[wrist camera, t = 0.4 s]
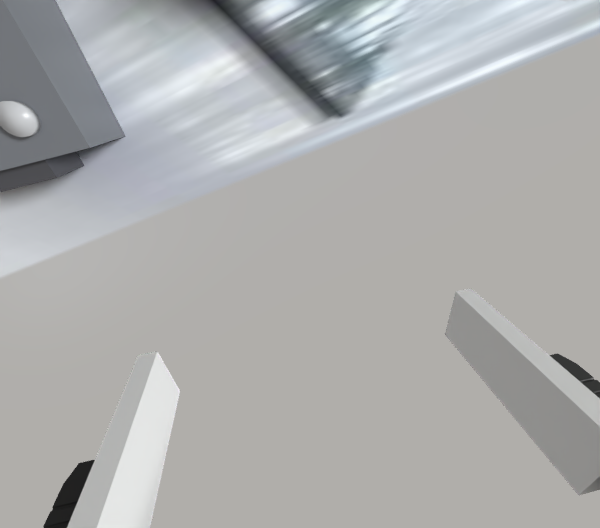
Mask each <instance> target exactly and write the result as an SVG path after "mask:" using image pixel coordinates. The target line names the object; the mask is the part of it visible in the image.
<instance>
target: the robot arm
mask: <svg viewBox="0 0 600 528" xmlns="http://www.w3.org/2000/svg"><path fill="white" fill-rule="evenodd" d="M445 335H446V336H447V338H448V339H449V340H450V341H451V342H452V344H453V345H454V346H455V347H456V348H457V350H458V351H459V352H460V353H461V354H462V356H463V357H464V358H465V359H466V361H467V362H468V363H469V364H470V365H471V366H472V368H473V369H474V370H475V371H476V373H477V374H478V375H479V376H480V377H481V379H482V380H483V381H484V382H485V383H486V385H487V386H488V387H489V388H490V389H491V391H492V392H493V393H494V394H495V395H496V396H497V398H498V399H499V400H500V401H501V402H502V404H503V405H504V406H505V407H506V409H507V410H508V411H509V412H510V413H511V414H512V416H513V417H514V418H515V419H516V421H517V422H518V423H519V424H520V425H521V427H522V428H523V429H524V430H525V431H526V433H527V434H528V435H529V436H530V438H531V439H532V440H533V441H534V442H535V443H536V445H537V446H538V447H539V448H540V450H541V451H542V452H543V453H544V454H545V456H546V457H547V458H548V459H549V460H550V462H551V463H552V464H553V465H554V466H555V468H556V469H557V470H558V471H559V472H560V474H561V475H562V476H563V477H564V478H565V480H566V481H567V482H568V483H569V484H570V485H571V487H572V488H573V489H574V490H575V492H576V493H577V494H578V495H581V494H585V493H589V492H592V491H596V490H600V382H598V381H597V380H594V379H593V377H592V376H591V375H590V374H589V373H587V372H586V371H585V370H584V369H583V368H581V367H580V366H579V365H577V364H576V363H574V362H572V361H571V360H569V359H567V358H565V357H563V356H561V355H559V354H554V355H548V354H547V353H546V352H545V351H544V350H542V349H541V348H540V347H539V346H538V345H537V344H535V343H534V342H533V341H532V340H531V339H530V338H529V337H527V336H526V335H525V334H524V333H523V332H521V331H520V330H519V329H518V328H517V327H516V326H514V325H513V324H512V323H511V322H510V321H509V320H508V319H506V318H505V317H504V316H503V315H502V314H501V313H499V312H498V311H497V310H496V309H495V308H494V307H492V306H491V305H490V304H489V303H488V302H487V301H485V300H484V299H483V298H482V297H481V296H479V295H478V294H477V293H476V292H475V291H474V290H473V289H467V290H462V291H457V292H456V293H455V297H454V301H453V305H452V309H451V313H450V317H449V321H448V325H447V329H446V333H445ZM179 394H180V390H179V388H178V387H177V385H176V383H175V381H174V380H173V378H172V376H171V374H170V373H169V371H168V369H167V367H166V366H165V364H164V362H163V360H162V359H161V357H160V355H159V353H158V352H151V353H147V354H141V355H138V357H137V359H136V362H135V364H134V367H133V369H132V371H131V374H130V376H129V378H128V381H127V383H126V386H125V388H124V391H123V393H122V396H121V398H120V400H119V403H118V405H117V408H116V410H115V413H114V415H113V417H112V420H111V422H110V425H109V427H108V429H107V432H106V434H105V437H104V439H103V442H102V444H101V447H100V449H99V452H98V454H97V456H96V459H95V460H91V461H87V462H83V463H79V464H78V465H77V467H76V468H75V469H74V471H73V472H72V473H71V475H70V476H69V477H68V479H67V480H66V481H65V483H64V484H63V486H62V488H61V490H60V492H59V494H58V497H57V499H56V501H55V503H54V505H53V510H52V511H51V512H50V514H49V516H48V518H47V520H46V522H45V524H44V528H150V524H151V520H152V516H153V511H154V507H155V502H156V498H157V493H158V489H159V484H160V480H161V475H162V470H163V466H164V462H165V457H166V452H167V447H168V443H169V439H170V434H171V430H172V425H173V421H174V416H175V412H176V407H177V402H178V397H179Z"/></svg>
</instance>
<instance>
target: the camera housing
mask: <svg viewBox="0 0 600 528" xmlns="http://www.w3.org/2000/svg"><path fill="white" fill-rule="evenodd" d="M121 137H125V135H124V133H123V131H122V129H121V127H120V125H119V123H118V121H117V119H116V117H115V115H114V113H113V111H112V109H111V107H110V105H109V104H108V102H107V100H106V98H105V96H104V94H103V92H102V90H101V88H100V86H99V84H98V82H97V80H96V78H95V76H94V74H93V72H92V71H91V69H90V67H89V65H88V63H87V61H86V59H85V57H84V55H83V53H82V51H81V49H80V47H79V45H78V43H77V41H76V39H75V38H74V36H73V34H72V32H71V30H70V28H69V26H68V24H67V22H66V20H65V18H64V16H63V14H62V12H61V10H60V8H59V6H58V5H57V3H56V1H55V0H0V191H1V192H3V191H7V190H11V189H15V188H19V187H22V186H26V185H30V184H34V183H38V182H42V181H46V180H49V179H53V178H57V177H59V176H62V175H64V174H66V173H69V172H71V171H73V170H76V169H78V168H80V167H83V166H84V164H83V163H82V161H81V159H80V158H79V156H78V154H77V153H76V151H80V150H84V149H88V148H91V147H94V146H97V145H100V144H103V143H106V142H109V141H112V140H115V139H118V138H121Z"/></svg>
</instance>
